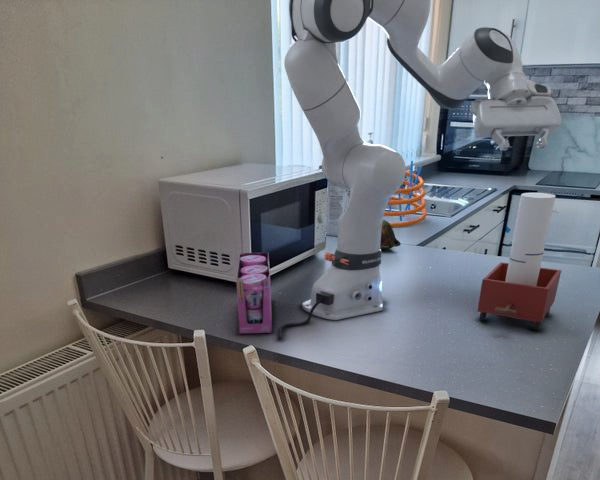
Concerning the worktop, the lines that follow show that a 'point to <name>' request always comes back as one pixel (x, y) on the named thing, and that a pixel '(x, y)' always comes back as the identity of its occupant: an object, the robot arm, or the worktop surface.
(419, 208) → the orange spiral coil
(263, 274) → the gum box
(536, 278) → the cylindrical container
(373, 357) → the worktop surface
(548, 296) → the toy cart
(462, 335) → the worktop surface
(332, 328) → the worktop surface
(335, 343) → the worktop surface
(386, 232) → the bronze bell
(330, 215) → the juice carton
